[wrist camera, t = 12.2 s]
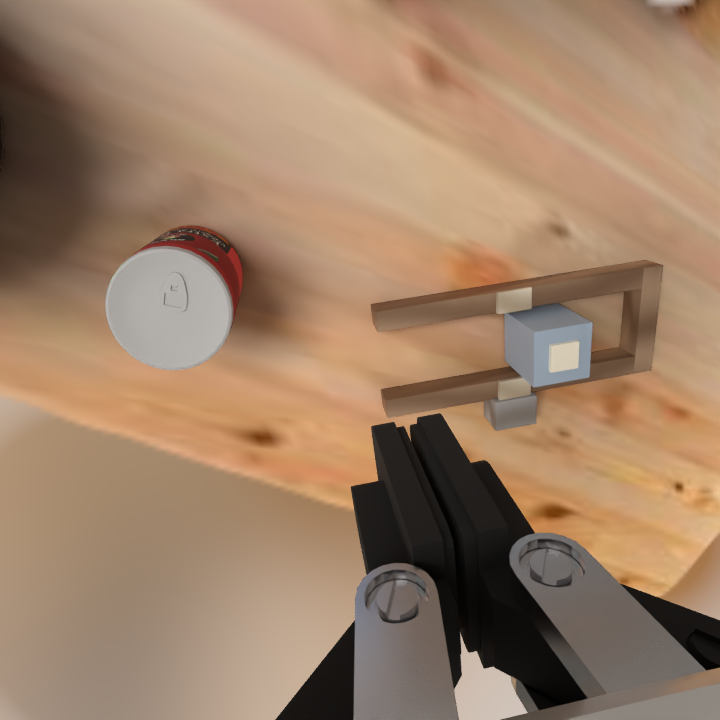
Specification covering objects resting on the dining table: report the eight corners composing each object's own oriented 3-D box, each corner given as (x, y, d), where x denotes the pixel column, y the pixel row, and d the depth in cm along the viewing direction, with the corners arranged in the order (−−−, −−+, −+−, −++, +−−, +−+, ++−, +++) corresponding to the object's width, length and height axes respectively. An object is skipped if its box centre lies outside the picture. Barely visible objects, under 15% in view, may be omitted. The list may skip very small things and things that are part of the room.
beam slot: (370, 303, 45) (376, 313, 42) (645, 259, 47) (667, 266, 44) (386, 433, 50) (392, 450, 47) (632, 388, 52) (652, 401, 49)
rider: (504, 311, 47) (536, 334, 41) (556, 302, 47) (595, 323, 41) (504, 360, 49) (535, 389, 43) (554, 352, 49) (592, 379, 43)
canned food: (237, 220, 41) (222, 243, 31) (250, 316, 44) (241, 365, 34) (137, 227, 40) (88, 252, 30) (157, 324, 43) (119, 377, 33)
